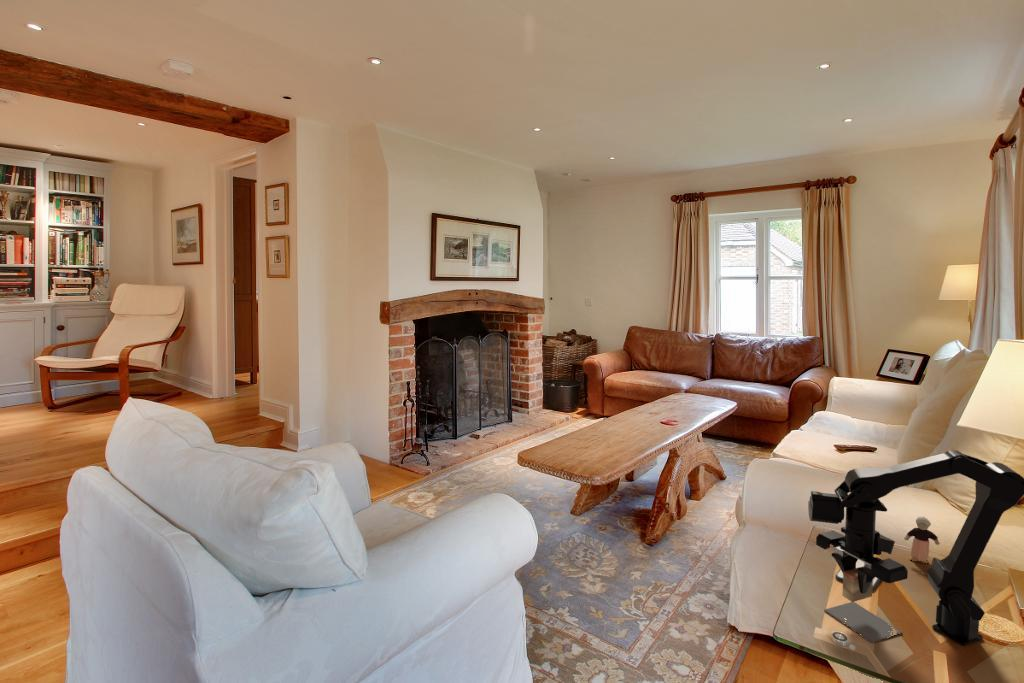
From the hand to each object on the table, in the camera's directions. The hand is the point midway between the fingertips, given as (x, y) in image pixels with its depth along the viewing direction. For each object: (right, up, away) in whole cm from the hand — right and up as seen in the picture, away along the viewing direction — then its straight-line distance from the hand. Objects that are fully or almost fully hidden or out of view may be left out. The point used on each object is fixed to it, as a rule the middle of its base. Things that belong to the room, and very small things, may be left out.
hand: (857, 589), depth 124 cm
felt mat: (0, -7, -1) cm, 7 cm away
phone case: (+13, -5, +18) cm, 23 cm away
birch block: (0, -2, 0) cm, 2 cm away
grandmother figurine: (+33, -3, +23) cm, 40 cm away
